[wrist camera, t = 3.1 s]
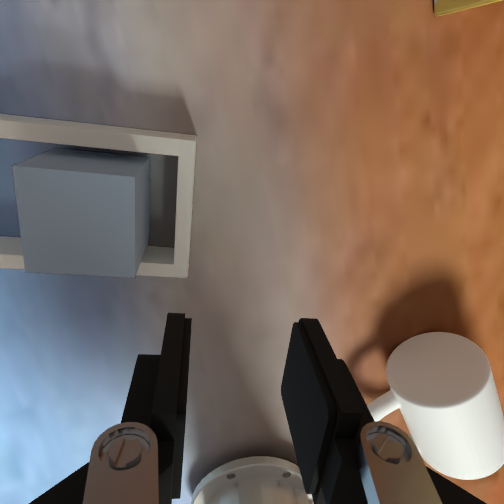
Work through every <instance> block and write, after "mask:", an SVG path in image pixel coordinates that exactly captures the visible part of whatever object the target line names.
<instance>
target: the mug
mask: <svg viewBox="0 0 504 504" xmlns="http://www.w3.org/2000/svg"><path fill="white" fill-rule="evenodd" d="M386 376H387V380H388V383H389V385H390V391H388V392H386V393H384V394H382V395H381V396H379V397H378V398H376V399H375V400H373V401H372V402H371V403H370V404H368V405H367V407H368V409H369V411H370V413H371V415H372V417H373V419H374V421H379V420H380V419H381V418H383V417H384V416H385V415H387V414H389V413H390V412H392V411H394V410H396V409H398V408H400V411H401V413H402V415H403V418H404V420H405V422H406V424H407V427H408V429H409V431H410V435H409V437H410V438H411V439H412V440H413V442H414V443H415V445H416V446H417V448H418V451H419V453H420V455H421V456H422V458H423V459H424V460H425V461H426V462H427V463H428V464H429V465H430V466H431V467H433V468H434V469H435V470H437V471H439V472H440V473H442V474H445V475H447V476H450V477H453V478H457V479H464V480H472V479H480V478H484V477H486V476H489V475H491V474H493V473H494V472H496V471H497V470H498V469H499V468H500V467H501V466H502V465H503V464H504V417H503V413H502V409H501V405H500V401H499V397H498V394H497V390H496V386H495V382H494V378H493V375H492V371H491V367H490V363H489V360H488V358H487V356H486V354H485V353H484V352H483V350H482V349H481V348H480V347H479V346H478V345H477V344H475V343H474V342H472V341H471V340H469V339H467V338H465V337H463V336H460V335H457V334H453V333H447V332H430V333H424V334H420V335H416V336H414V337H411V338H409V339H407V340H406V341H404V342H402V343H401V344H400V345H399V346H397V347H396V348H395V350H394V351H393V352H392V354H391V355H390V357H389V359H388V362H387V366H386Z"/></svg>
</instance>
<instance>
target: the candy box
mask: <svg viewBox="0 0 504 504" xmlns="http://www.w3.org/2000/svg"><path fill="white" fill-rule="evenodd" d="M498 1H502V0H434V14H435V16H441V15H446V14H450V13H454V12H458V11H463V10H466V9H470V8H474V7H478V6H482V5H486V4H490V3H494V2H498Z"/></svg>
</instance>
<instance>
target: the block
mask: <svg viewBox="0 0 504 504" xmlns="http://www.w3.org/2000/svg"><path fill="white" fill-rule="evenodd" d="M12 172H13V180H14V187H15V195H16V203H17V211H18V219H19V227H20V235H21V243H22V250H23V258H24V266H25V272H30V273H49V274H68V275H87V276H106V277H125V278H135V277H136V274H137V271H138V269H139V266H140V263H141V260H142V258H143V255H144V252H145V250H146V247H147V244H148V241H149V201H150V158H149V157H139V156H129V155H119V154H109V153H99V152H89V151H79V150H69V149H59V148H54V149H52V150H49V151H47V152H44V153H42V154H39V155H37V156H34V157H32V158H29V159H27V160H25V161H22V162H20V163H17V164H15V165H12Z"/></svg>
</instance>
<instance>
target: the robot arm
mask: <svg viewBox="0 0 504 504" xmlns="http://www.w3.org/2000/svg"><path fill="white" fill-rule="evenodd" d="M191 321H192V318H185V314H183V313H168V315H167V321H166V327H165V333H164V339H163V345H162V351H161V355H145V354H139V355H138V357H137V361H136V365H135V369H134V373H133V377H132V381H131V385H130V389H129V393H128V397H127V401H126V405H125V408H124V412H123V416H122V420H121V423H120V424H117V425H114V426H112V427H110V428H108V429H107V430H106V431H104V432H103V433H102V434H100V436H99V437H98V438H97V440H96V441H95V442H94V445H93V448H92V451H91V456H90V462H88V463H87V464H85V465H84V466H82V467H81V468H80V469H78V470H77V471H75V472H74V473H72V474H71V475H69V476H68V477H67V478H65V479H64V480H62V481H61V482H59V483H58V484H57V485H55V486H54V487H52V488H51V489H49V490H48V491H46V492H45V493H44V494H42V495H41V496H39V497H38V498H36V499H35V500H33V501H32V502H31V503H29V504H171V503H172V499H178V498H180V493H181V478H182V463H183V449H184V434H185V420H186V404H187V388H188V371H189V354H190V338H191ZM281 395H282V400H283V404H284V408H285V412H286V416H287V420H288V424H289V429H290V433H291V437H292V441H293V445H294V449H295V453H296V457H297V461H298V465H299V467H298V466H297V465H295V464H293V463H291V462H289V461H287V460H284V459H280V458H276V457H268V456H253V457H246V458H241V459H237V460H234V461H230V462H228V463H226V464H224V465H221V466H219V467H218V468H216V469H215V470H213V471H211V472H210V473H209V474H208V475H206V476H205V477H204V478H203V479H202V480H201V481H200V483H199V484H198V485H197V487H196V489H195V491H194V493H193V496H192V502H191V504H312V503H313V502H314V504H486V503H485V502H483V501H481V500H480V499H478V498H477V497H475V496H473V495H472V494H470V493H468V492H467V491H465V490H464V489H462V488H460V487H459V486H457V485H456V484H454V483H452V482H451V481H449V480H447V479H446V478H444V477H443V476H441V475H439V474H438V473H436V472H435V471H433V470H431V469H430V468H428V467H426V466H425V464H424V462H423V460H422V457H421V455H420V453H419V451H418V448H417V446H416V445H415V443H414V442H413V440H412V439H411V438H410V437H409V436H408V435H407V434H406V433H405V432H404V431H403V430H401V429H400V428H398V427H396V426H394V425H392V424H390V423H386V422H381V421H374V419H373V417H372V415H371V413H370V411H369V409H368V407H367V405H366V403H365V401H364V399H363V397H362V395H361V393H360V391H359V389H358V387H357V385H356V383H355V381H354V379H353V377H352V375H351V373H350V371H349V369H348V367H347V366H346V364H345V362H344V361H343V360H342V359H337V358H336V356H335V354H334V351H333V349H332V347H331V345H330V343H329V341H328V339H327V337H326V335H325V333H324V331H323V329H322V327H321V325H320V323H319V321H318V319H308V318H301V319H300V320H299V322H295V323H294V324H293V328H292V333H291V338H290V343H289V348H288V354H287V359H286V364H285V369H284V374H283V380H282V385H281Z"/></svg>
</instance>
